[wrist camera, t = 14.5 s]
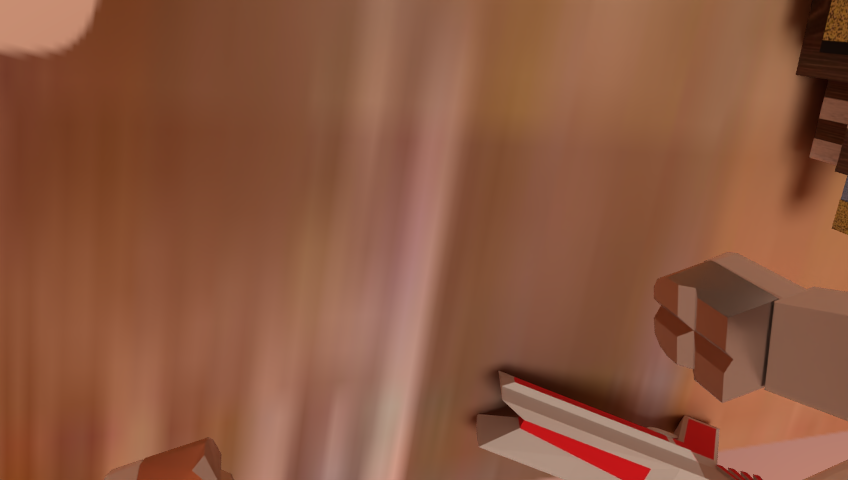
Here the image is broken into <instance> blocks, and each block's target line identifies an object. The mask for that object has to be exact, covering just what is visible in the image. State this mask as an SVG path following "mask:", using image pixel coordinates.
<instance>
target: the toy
mask: <svg viewBox="0 0 848 480" xmlns="http://www.w3.org/2000/svg"><path fill="white" fill-rule="evenodd" d="M796 75H801V76H808V77H815V78H821V79H828V84H827V88H826V92H825V96H824V100H823V104H822V108H821V112H820V116H819V120H818V124H817V128H816V132H815V136H814V140H813V144H812V148H811V152H810V156H809V158H812V159H816V160H819V161H823V162H826V163H830V164H833V165H837V166H836V169H835V171H836V172H839V173H842V174H846V175H848V0H812V5H811V9H810V14H809V18H808V23H807V27H806V32H805V36H804V40H803V45H802V49H801V54H800V58H799V63H798V67H797V71H796ZM832 229H835V230H837V231H840V232H842V233H845V234H847V235H848V176H847V179H846V183H845V186H844V190H843V193H842V197H841V200H840V201H839V205H838V208H837V212H836V215H835V219H834V222H833V226H832Z"/></svg>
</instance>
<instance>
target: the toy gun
mask: <svg viewBox="0 0 848 480" xmlns="http://www.w3.org/2000/svg"><path fill="white" fill-rule="evenodd" d="M498 372H499V380H500V388H501V395H502V400H503V401H504V402H505V403H506V404H507V405H508V406H509V407H511V408H512V409H513V410H514V411H515V412H516V413H517V414H518V415H519V417H518V418H517V417H506V416H495V415H484V414H478V415H477V427H476V428H477V440H478V446H479V447H480V448H483V449H485V450H488V451H491V452H493V453H496V454H499V455H501V456H504V457H506V458H509V459H512V460H514V461H517V462H519V463H522V464H525V465H527V466H530V467H533V468H535V469H538V470H540V471H543V472H546V473H548V474H551V475H554V476H556V477H559V478H561V479H564V480H762V479H761V477H760V476H758V475H754V474H753V478H752V477H751V476H750V475H749V474H748V473H746V472H742V471H741V475H740V474H739V473H738V472H737V471H736V470H734V469H731V468H728V470H726V469H725V468H724V467H723V466H720V465H717V458H718V443H719V428H716V427H714V426H711V425H709V424H706V423H704V422H701V421H698V420H696V419H693V418H691V417H688V416H685V415H684V416H683V418H682V420H681V421H680V423H679V425H678V426H677V428H676V429H675V431H674V434H672V433H669V432H667V431H664V430H661V429H658V428H655V427H648V428H645V427H642V426H640V425H637V424H635V423H632V422H630V421H627V420H624V419H622V418H619V417H617V416H614V415H612V414H609V413H606V412H604V411H601V410H599V409H596V408H594V407H591V406H588V405H586V404H583V403H581V402H578V401H576V400H573V399H570V398H568V397H565V396H563V395H560V394H557V393H555V392H552V391H550V390H547V389H545V388H542V387H539V386H537V385H534V384H532V383H529V382H527V381H524V380H521V379H519V378H516V377H514V376H511V375H509V374H507V373H504V372H501V371H498Z"/></svg>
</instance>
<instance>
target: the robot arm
mask: <svg viewBox="0 0 848 480" xmlns="http://www.w3.org/2000/svg"><path fill="white" fill-rule="evenodd" d="M654 299H655V300H656V301H657V302H658V303H659V304H660V305H661V307H660V308H659V310H658V312H657V314H656V315H655V317H654V329H655V335H656V337H657V340H658V342H659V345H660V347H661V348H662V350H663V351H664V352H665V354H666V355H667V356H668V357H669V358H670V359H671V360H672V361H673V362H674V363H676V364H677V365H680V366H683V367H687V368H690V369H693V373H694V380H695V381H697V382H698V383H699V384H700V385H701V386H703V387H704V388H705V389H706V390H707V391H708V392H710V393H711V394H712V395H713V396H714V397H716V398H717V399H718V400H719V401H720V402H722V403H724V402H726V401H729V400H732V399H734V398H737V397H740V396H742V395H745V394H748V393H750V392H753V391H756V390H758V389H761V388H764V387H765V390H767V391H769V392H772V393H775V394H777V395H780V396H783V397H785V398H788V399H790V400H793V401H796V402H798V403H801V404H804V405H806V406H809V407H812V408H814V409H817V410H820V411H822V412H825V413H828V414H830V415H833V416H836V417H838V418H841V419H844V420H846V421H848V292H845V291H838V290H832V289H825V288H819V287H812V288H809V289H805V288H803V287H801V286H799V285H797V284H795V283H793V282H791V281H790V280H788V279H786V278H784V277H782V276H780V275H778V274H776V273H774V272H772V271H770V270H768V269H766V268H765V267H763V266H761V265H759V264H757V263H755V262H753V261H751V260H749V259H747V258H745V257H743V256H741V255H740V254H738V253H731V252H727V253H724V254H722V255H719V256H716V257H714V258H711V259H708V260H706V261H704V262H703V263H700V264H697V265H694V266H692V267H689V268H686V269H683V270H680V271H678V272H675V273H672V274H669V275H667V276H664V277H661V278H658V279H657V281H656V283H655V286H654ZM104 480H234V479H233V477H232V474H231V473H229V472H226V471H224V470H222V469H221V453H220V451H219V449H218V447H217V445H216V444H215V442H214V440H213V439H211V438H209V437H208V438H205V439H202V440H199V441H195V442H192V443H189V444H186V445H183V446H180V447H177V448H174V449H171V450H168V451H165V452H162V453H159V454H156V455H153V456H150V457H147V458H145V459H144V460H139V461H136V462H133V463H130V464H127V465H124V466H121V467H119V468H116V469H113V470H111V471H110V472H109V473H108V474H107V475H106V477H105V479H104ZM804 480H848V460H846V461H844V462H841V463H839V464H837V465H835V466H832V467H830V468H828V469H826V470H824V471H822V472H819V473H817V474H815V475H813V476H810V477H808V478H806V479H804Z"/></svg>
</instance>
